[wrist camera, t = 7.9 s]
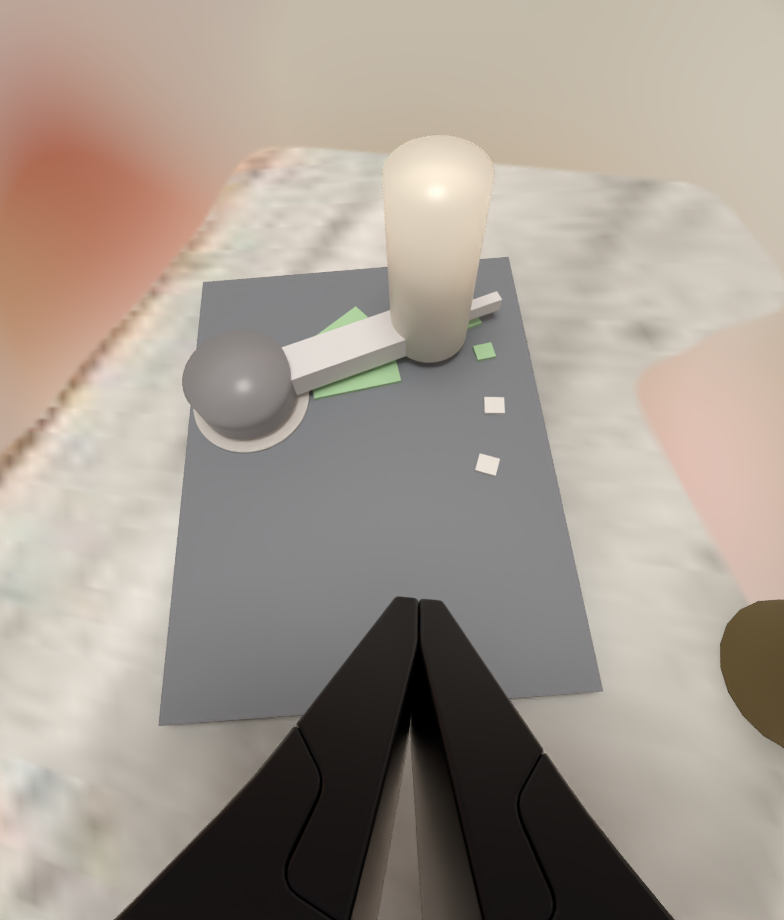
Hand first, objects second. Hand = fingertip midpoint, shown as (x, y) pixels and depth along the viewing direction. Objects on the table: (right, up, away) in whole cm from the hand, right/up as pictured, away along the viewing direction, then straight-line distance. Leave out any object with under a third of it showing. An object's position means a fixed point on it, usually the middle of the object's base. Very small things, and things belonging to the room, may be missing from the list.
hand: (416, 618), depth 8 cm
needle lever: (-2, +8, +16) cm, 18 cm away
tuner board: (-2, +3, +16) cm, 16 cm away
